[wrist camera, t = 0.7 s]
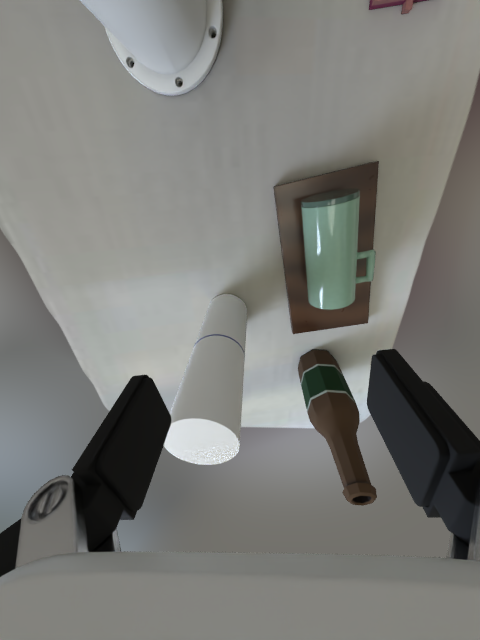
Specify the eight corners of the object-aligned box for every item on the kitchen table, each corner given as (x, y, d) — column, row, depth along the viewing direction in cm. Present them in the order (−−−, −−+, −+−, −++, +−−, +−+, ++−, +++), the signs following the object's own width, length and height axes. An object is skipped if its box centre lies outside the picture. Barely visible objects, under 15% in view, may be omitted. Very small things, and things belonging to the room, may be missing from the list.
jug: (304, 292, 38) (296, 198, 31) (362, 282, 37) (369, 181, 30) (313, 312, 33) (306, 205, 26) (382, 302, 31) (396, 184, 24)
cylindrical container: (248, 295, 41) (242, 422, 20) (245, 329, 45) (236, 468, 23) (208, 292, 41) (157, 414, 20) (208, 326, 45) (165, 460, 23)
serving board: (273, 186, 32) (274, 186, 31) (373, 161, 30) (379, 161, 29) (291, 329, 44) (292, 334, 43) (364, 318, 42) (368, 323, 41)
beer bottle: (343, 356, 47) (414, 495, 26) (320, 381, 50) (366, 520, 30) (310, 342, 45) (357, 477, 25) (289, 368, 49) (314, 505, 29)
